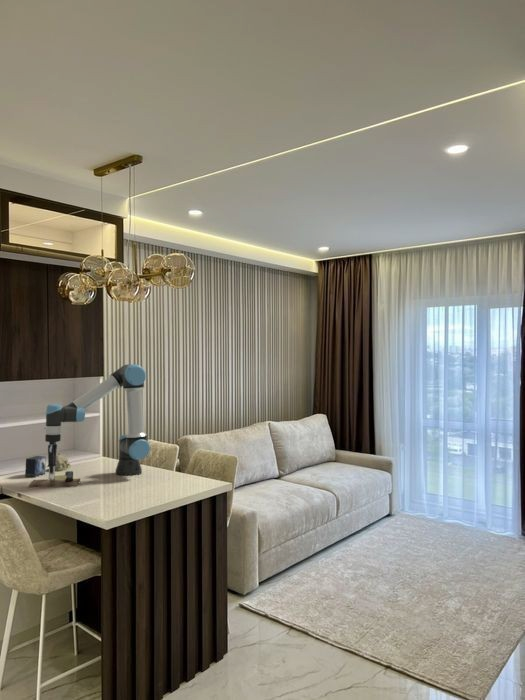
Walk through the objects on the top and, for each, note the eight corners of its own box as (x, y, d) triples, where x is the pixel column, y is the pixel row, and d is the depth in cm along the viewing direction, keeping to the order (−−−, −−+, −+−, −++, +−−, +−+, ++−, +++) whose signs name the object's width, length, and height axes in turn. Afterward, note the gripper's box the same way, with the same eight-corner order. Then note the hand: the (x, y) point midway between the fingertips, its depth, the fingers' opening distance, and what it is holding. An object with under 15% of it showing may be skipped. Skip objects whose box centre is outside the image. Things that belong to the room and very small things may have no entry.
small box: (34, 477, 301) (35, 459, 302) (24, 477, 302) (25, 458, 303) (46, 474, 312) (46, 456, 312) (36, 473, 313) (36, 455, 313)
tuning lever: (71, 479, 289) (71, 470, 289) (74, 480, 286) (74, 471, 286) (48, 482, 281) (48, 473, 281) (51, 483, 278) (51, 474, 278)
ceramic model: (61, 472, 319) (62, 455, 319) (44, 471, 320) (44, 454, 321) (73, 468, 332) (74, 451, 333) (56, 467, 334) (57, 451, 335)
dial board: (80, 481, 293) (80, 478, 294) (77, 486, 281) (77, 483, 281) (33, 482, 289) (33, 479, 289) (28, 487, 276) (28, 484, 276)
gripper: (47, 432, 288) (46, 476, 288) (43, 435, 276) (41, 481, 275) (62, 432, 290) (61, 476, 289) (58, 435, 277) (56, 481, 276)
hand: (51, 478), depth 282 cm, fingers closed
